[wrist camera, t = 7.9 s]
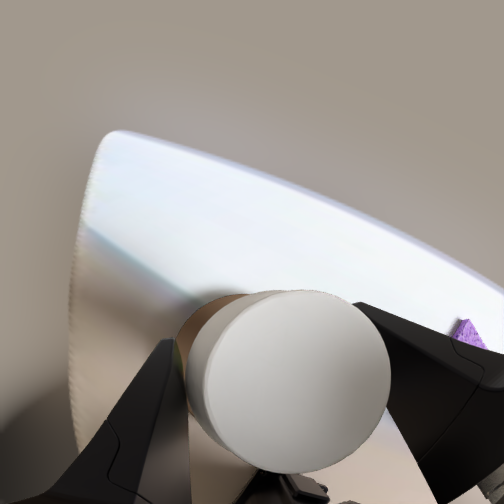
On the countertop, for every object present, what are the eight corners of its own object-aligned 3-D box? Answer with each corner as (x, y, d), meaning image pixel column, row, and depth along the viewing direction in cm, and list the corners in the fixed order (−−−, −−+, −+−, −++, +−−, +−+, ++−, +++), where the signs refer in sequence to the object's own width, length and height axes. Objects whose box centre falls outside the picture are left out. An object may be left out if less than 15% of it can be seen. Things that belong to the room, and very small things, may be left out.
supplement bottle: (209, 314, 15) (186, 238, 6) (307, 325, 15) (415, 270, 6) (196, 412, 13) (154, 489, 4) (298, 420, 13) (399, 485, 4)
